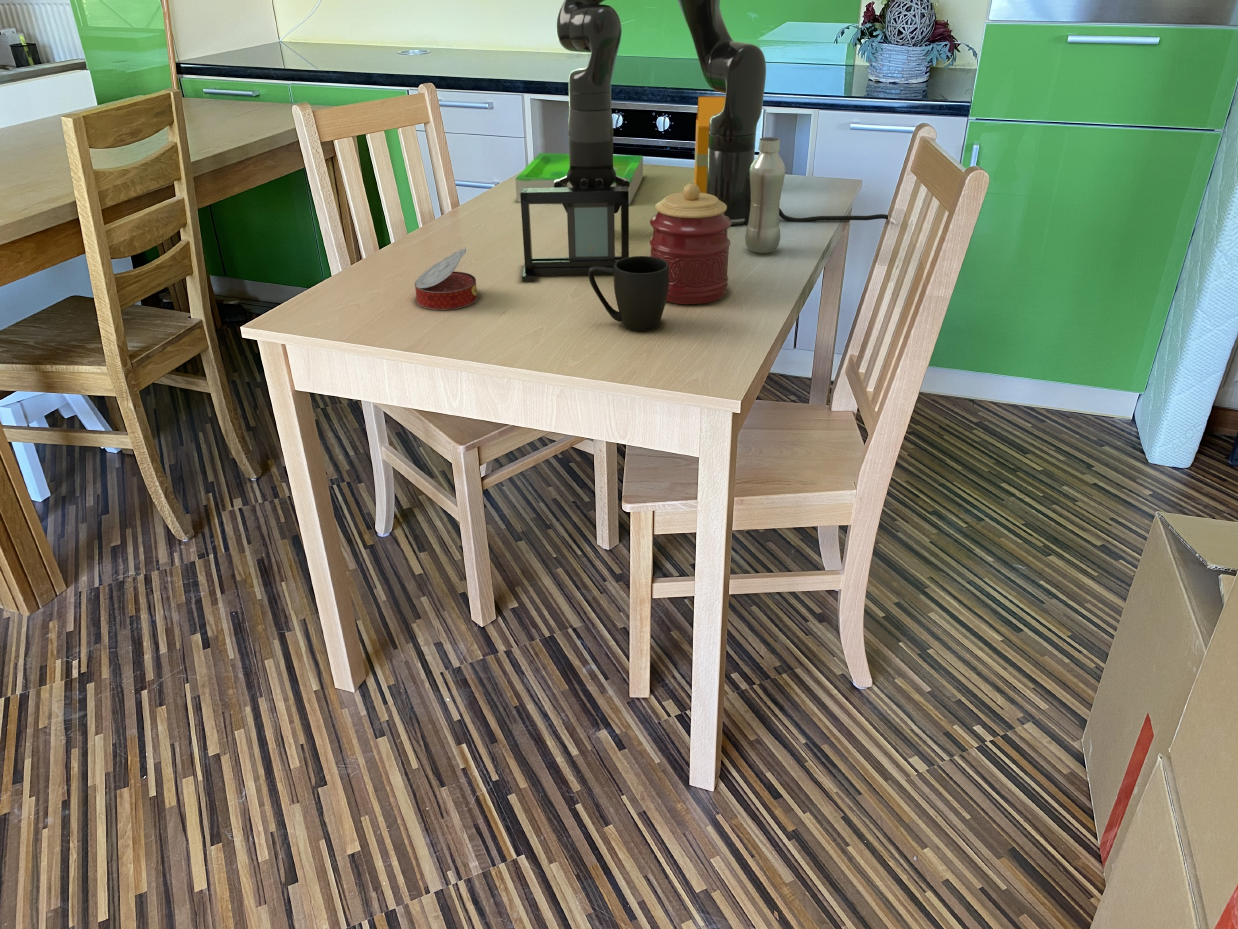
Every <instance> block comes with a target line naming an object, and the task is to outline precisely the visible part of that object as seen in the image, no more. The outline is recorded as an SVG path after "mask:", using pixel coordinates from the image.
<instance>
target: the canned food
mask: <svg viewBox="0 0 1238 929" xmlns="http://www.w3.org/2000/svg"><path fill="white" fill-rule="evenodd" d="M466 253H467V248H466V247H464V248H460V249H459V250H457V251H455V252H453V253H452V254H451V255H448V256H446V257H444V258H443V259H442V260H440V261H438V262H436V263H434V264H433V265H432V266H430V267H429V268H428V269H426V270H425V271H424V272H423V273H422V274H420V275H419V276H418V277H417V279H416V280H415V282H414V289H415V295H416V296H415V298H416V304H418V306H420V307H422V308H424V309H428V310H435V311H448V310H457V309H462V308H466V307H468V306H470V305H472V304H474V303H475V302H476V301H477V300H478V289H477V279H476V277H475V276H474V275H473V274H471V273H467V272H463V271H455V270H456V268H457V267H458V266H459V263H460V261H461V259H462V258H463V257H464V256H465V254H466Z"/></svg>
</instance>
